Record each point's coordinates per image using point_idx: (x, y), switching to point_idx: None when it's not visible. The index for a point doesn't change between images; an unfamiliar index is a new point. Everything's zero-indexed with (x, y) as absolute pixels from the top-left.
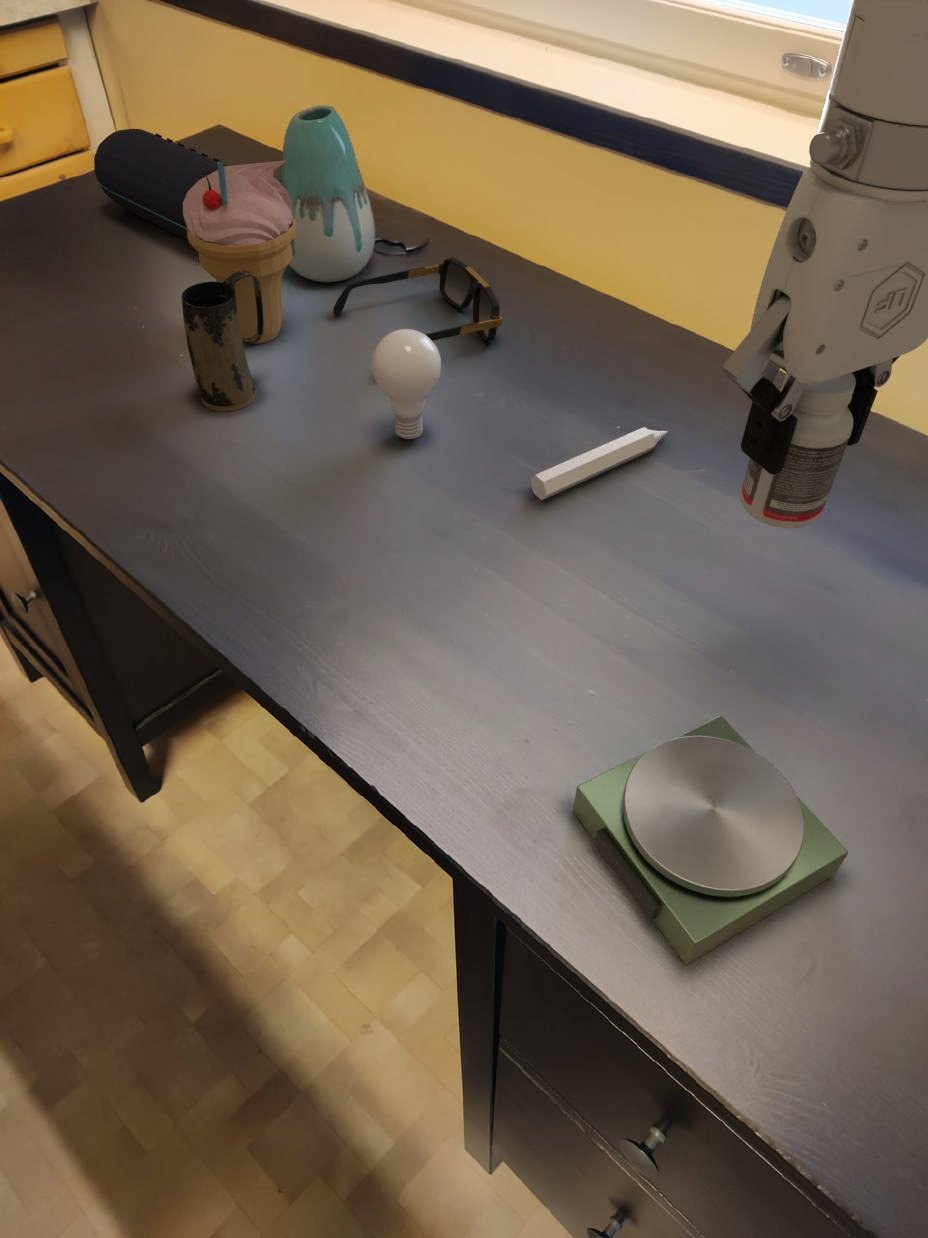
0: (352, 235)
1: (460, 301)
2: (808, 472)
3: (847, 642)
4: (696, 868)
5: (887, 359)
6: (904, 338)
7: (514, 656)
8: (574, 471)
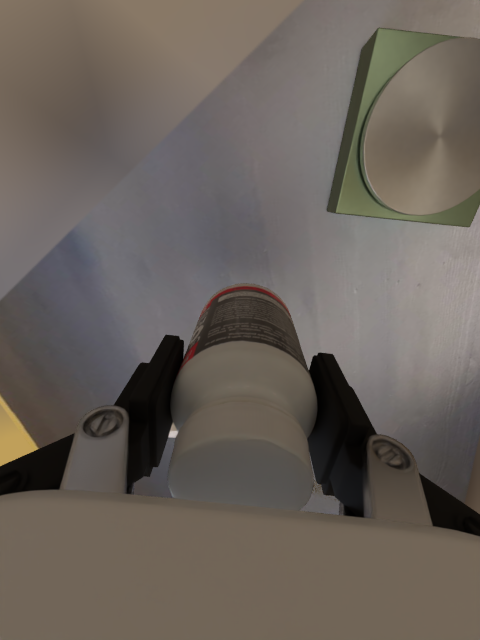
0: None
1: None
2: (283, 330)
3: (169, 218)
4: None
5: (165, 508)
6: (65, 605)
7: (368, 339)
8: None
